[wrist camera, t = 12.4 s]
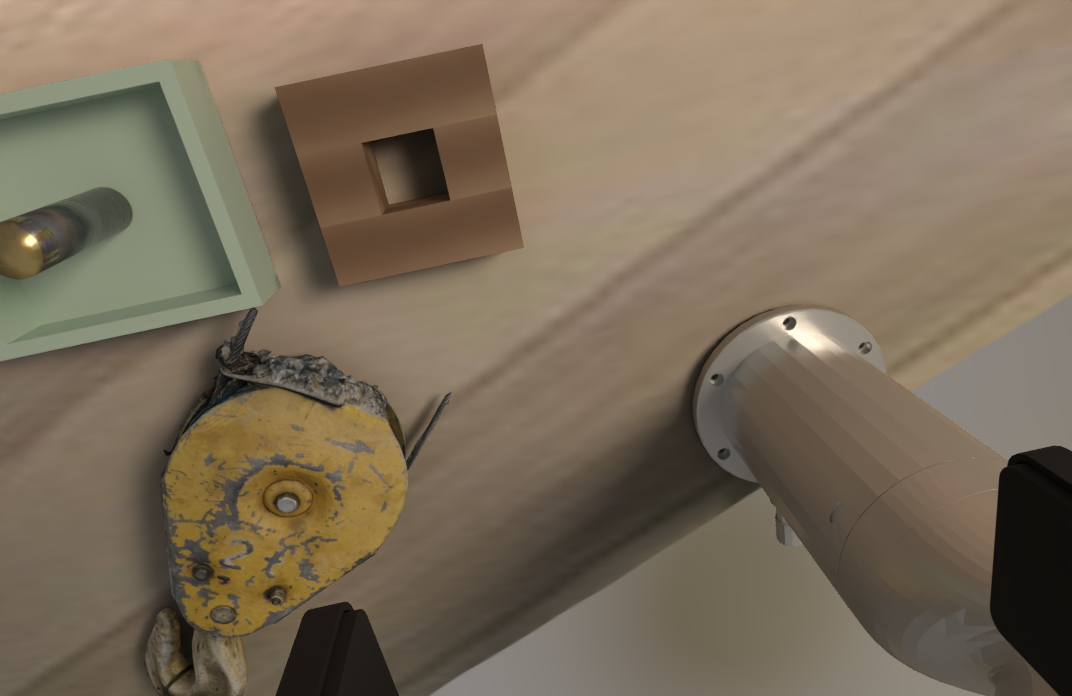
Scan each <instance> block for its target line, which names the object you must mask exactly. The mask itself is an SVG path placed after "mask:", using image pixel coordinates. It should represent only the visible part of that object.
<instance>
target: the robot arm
mask: <svg viewBox="0 0 1072 696" xmlns="http://www.w3.org/2000/svg"><path fill="white" fill-rule="evenodd" d="M785 319H786V320H785ZM784 320H785V321H784ZM783 321H784V322H783ZM715 374H716V375H715ZM713 375H715V376H714V377H712V376H713ZM693 419H694V423H695V428H696V432H697V434H698V436H699V438H700V440H701V442H702V444H703V446H704V447H705V449H706V450H707V452H708V453H709V455H710V456H711V458H712V459H713V460H714V461H715V462H716V463H717V464H718V465H719V466H720V467H721V468H723V469H724V470H726V471H727V472H729V473H731V474H732V475H734V476H736V477H738V478H741V479H744V480H746V481H749V482H754V483H759V484H760V485H761V487H762V488H763V489H764V491H765V492H766V494H767V495H768V496H769V498H770V501H771V503H772V504H773V505H774V506H776V510H777V511H776V512H777V513H776V517H775V519H776V536H777V539H778V541H779V542H780V543H782V544H783V545H785V546H790V547H797V546H801V545H804V547H805V548H806V549H807V551H808V552H809V553H810V555H811V556H812V557H813V559H814V560H815V562H816V563H817V565H818V566H819V567H820V569H821V570H822V571H823V573H824V574H825V576H826V577H827V579H828V580H829V581H830V583H831V584H832V585H833V587H834V588H835V589H836V591H837V592H838V594H839V595H840V597H841V598H842V599H843V601H844V602H845V603H846V605H847V606H848V608H849V609H850V610H851V611H852V613H853V614H854V616H855V617H856V618H857V620H858V621H859V622H860V624H861V625H862V626H863V627H864V629H865V630H866V631H867V633H868V634H869V635H870V636H871V637H872V638H873V639H874V640H875V642H876V643H878V644H879V645H880V646H881V647H882V648H883V649H884V650H885V651H886V652H888V653H889V654H890V655H891V656H893V657H894V658H896V659H897V660H899V661H900V662H902V663H903V664H905V665H906V666H908V667H910V668H912V669H913V670H915V671H917V672H919V673H922V674H924V675H926V676H928V677H930V678H932V679H935V680H937V681H940V682H943V683H946V684H949V685H952V686H955V687H958V688H961V689H964V690H967V691H971V692H975V693H978V694H982V695H986V696H1072V451H1070V450H1068V449H1066V448H1064V447H1061V446H1050V447H1046V448H1041V449H1037V450H1032V451H1027V452H1023V453H1018V454H1016V455H1013V456H1012V457H1011V458H1010V459H1009V460H1007V459H1006V458H1004V457H1003V456H1001V455H1000V454H999V453H997V452H996V451H994V450H993V449H991V448H990V447H988V446H987V445H985V444H984V443H983V442H981V441H980V440H979V439H977V438H976V437H974V436H972V434H970V433H969V432H967V431H966V430H964V429H963V428H962V427H960V426H959V425H957V424H956V423H954V422H953V421H952V420H950V419H949V418H947V417H946V416H944V415H943V414H942V413H940V412H939V411H937V410H936V409H934V408H933V407H932V406H930V405H929V404H927V403H926V402H924V401H923V400H922V399H920V398H919V397H917V396H916V395H915V394H913V393H912V392H910V391H909V390H907V389H906V388H905V387H903V386H902V385H900V384H899V383H897V382H896V381H895V380H893V379H892V378H890V377H889V376H887V373H886V364H885V361H884V358H883V355H882V351H881V349H880V347H879V346H878V344H877V342H876V341H875V339H874V338H873V336H872V335H871V334H870V333H869V332H868V331H867V330H866V329H865V328H864V327H863V326H862V325H861V324H859V323H858V322H856V321H855V320H853V319H851V318H850V317H848V316H847V315H844V314H842V313H840V312H838V311H836V310H834V309H830V308H826V307H821V306H817V305H793V306H787V307H781V308H776V309H773V310H771V311H768V312H765V313H762V314H759V315H757V316H756V317H754V318H752V319H750V320H748V321H747V322H745V323H743V324H741V325H740V326H739V327H738V328H736V329H735V330H734V331H733V332H731V333H730V334H729V335H728V336H726V337H725V338H724V340H723V341H722V342H721V343H720V344H719V345H718V346H717V347H716V348H715V349H714V351H713V352H712V354H711V355H710V357H709V358H708V360H707V361H706V363H705V364H704V366H703V368H702V371H701V373H700V375H699V378H698V380H697V383H696V387H695V392H694V397H693ZM276 696H399V695H398V692H397V690H396V687H395V685H394V682H393V680H392V677H391V674H390V672H389V669H388V667H387V664H386V662H385V659H384V657H383V654H382V652H381V649H380V647H379V644H378V642H377V639H376V637H375V634H374V632H373V629H372V627H371V624H370V622H369V619H368V617H367V615H366V613H365V611H364V610H363V609H359V610H353V608H352V606H351V605H350V604H349V603H348V602H342V603H337V604H333V605H328V606H324V607H319V608H315V609H310V610H308V611H307V612H305V614H304V616H303V618H302V621H301V624H300V627H299V629H298V632H297V635H296V638H295V641H294V644H293V647H292V650H291V653H290V656H289V658H288V661H287V664H286V667H285V670H284V673H283V676H282V679H281V682H280V685H279V687H278V690H277V693H276Z"/></svg>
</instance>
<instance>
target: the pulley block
mask: <svg viewBox="0 0 1072 696" xmlns="http://www.w3.org/2000/svg"><path fill="white" fill-rule="evenodd" d="M257 313H258V311H257V310H256V309H255V308H254V307H253V308H251V309H250V311H249V312H248V314H247V316H246V318H245V319H244V320H242V321H241V322H240V323H239V328H238V332H237V334H236V336H235V337H231V342H229V341H227V340H225V341H224V344H223V345H221V346H220V347H219V348H218V349H216V350H217V352H216V359H217V360H218V361H219V362H220V363H221V364H222V366H221V367H219V372H220V375H219V376H218V375H217V377H214V379H215V382H214V384H213V387H212V389H211V390H209V391H208V392H207V391H206V392H204V393H203V395H202V397H201V398H200V399H199V400H198V403H199V404H198V405H197V406H196V407H195V408H194V409H191V415H190V416H189V417H188V418H187V420H186V422H185V424H184V426H181V425H180V426H181V429H180V433H179V435H178V437H177V439H176V441H175V444H174V447H173V449H172V452H168V451H165V450H164V452H165V454H166V456H170V458H169V461H168V464H167V466H166V467H165V469H164V470H163V471H162V473H161V476H162V482H161V499H162V507H163V516H164V524H165V540H166V549H167V558H168V568H169V578H170V587H171V594H172V596H173V597H174V599H175V600H176V602H177V605H178V607H179V610H180V612H181V614H182V616H183V617H184V619H185V620H186V621H187V623H188V624H189V625H190V626H192V627H193V628H194V633H193V639H192V657H193V664H194V666H193V665H191V664H190V663H189V662H188V661H187V659H186V657H185V655H184V653H183V651H182V646H181V639H180V622H179V619H178V617H177V612H176V611H175V610H173V609H171V608H164V609H162V610H161V611H160V612H159V613H158V614H157V616H156V620H155V623H154V626H153V629H152V632H151V635H150V637H149V640H148V644H147V647H146V650H145V667H146V671H147V675H148V677H149V678H150V680H151V682H152V684H153V686H154V688H155V689H156V691H157V692H158V693H159V695H160V696H242V695H243V692H244V689H245V687H246V680H247V671H246V659H245V655H244V650H243V646H242V642H241V638H240V637H241V636H246V635H248V634H251V633H253V632H255V631H257V630H259V629H262V628H264V627H266V626H268V625H271V624H274V623H277V622H278V621H280V620H281V619H282V618H284V617H285V616H287V615H288V614H289V613H291V612H292V611H294V610H295V609H297V608H298V607H299V606H301V605H302V604H304V603H305V602H306V601H308V600H309V599H311V598H312V597H313V596H315V595H316V594H318V593H319V592H321V591H322V590H324V589H325V588H326V587H328V586H329V585H331V584H332V583H334V582H335V581H337V580H338V579H340V578H341V577H342V576H344V575H345V574H347V573H348V572H350V571H351V570H353V569H354V568H356V567H357V566H359V565H360V564H361V563H363V562H364V561H366V560H367V559H369V558H370V557H372V556H373V555H375V554H376V552H377V551H378V549H379V547H380V546H381V544H382V543H383V541H384V540H385V538H386V537H387V536H388V534H389V533H390V531H391V530H392V528H393V527H394V525H395V524H396V522H397V521H398V519H399V516H400V514H401V512H402V510H403V507H404V502H405V498H406V493H407V488H408V472H407V471H408V470H409V468H410V466H411V465H412V463H413V461H414V460H415V458H416V456H417V455H418V453H419V451H420V449H421V447H422V445H423V444H424V442H425V441H426V439H427V437H428V436H429V434H430V433H431V431H432V430H433V428H434V426H435V424H436V423H437V421H438V419H439V417H440V415H441V413H442V412H443V410H444V408H445V407H446V405H447V404H448V403H449V400H450V396H451V392H450V393H449V394H447V395H446V396H445V398H444V399H443V401H442V402H441V404H440V405H439V407H438V409H437V411H436V413H435V415H434V417H433V418H432V420H431V422H430V424H429V426H428V427H427V429H426V430H425V432H424V433H423V435H422V436H421V437H420V438H419V439H418V441H417V443H416V445H415V446H414V449H413V451H412V453H411V455H410V456H409V458H408V459H407V454H406V442H405V436H404V433H403V429H402V426H401V424H400V421H399V419H398V417H397V415H396V413H395V411H394V409H393V408H392V407H391V405H390V404H389V403H388V402H387V399H386V397H385V396H384V395H383V393H381V392H380V391H379V390H378V389H377V387H378V386H377V385H374V386H369V385H368V384H367V383H366V382H365V381H355V380H354V379H353V377H352V375H349V376H347V377H346V376H345V375H344V374H343V372H341V371H340V370H338V369H337V368H336V367H335V366H334V364H332V363H331V362H330V361H328V360H327V359H326V358H324V357H323V356H322V357H314V356H312V355H308V354H306V355H302V356H298V357H289V356H281V355H270V354H271V352H272V351H268V350H261V351H259V352H254V351H252V353H249V352H244V344H245V341H246V339H247V336H248V334H249V331H250V329H251V326H252V324H253V322H254V320H255V317H256V315H257ZM240 363H244V364H245V366H240V367H236V366H238V364H240ZM237 371H240V372H237ZM376 389H377V391H376Z"/></svg>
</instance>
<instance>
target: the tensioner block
mask: <svg viewBox="0 0 1072 696" xmlns="http://www.w3.org/2000/svg"><path fill="white" fill-rule="evenodd" d="M275 90H276V93H277V96H278V99H279V102H280V105H281V108H282V111H283V115H284V118H285V121H286V124H287V127H288V130H289V133H290V136H291V139H292V142H293V145H294V148H295V151H296V155H297V158H298V161H299V164H300V167H301V170H302V173H303V176H304V179H305V182H306V185H307V188H308V191H309V195H310V198H311V201H312V204H313V207H314V210H315V213H316V216H317V219H318V222H319V225H320V228H321V231H322V235H323V238H324V241H325V244H326V247H327V250H328V253H329V256H330V259H331V262H332V265H333V268H334V271H335V275H336V278H337V281H338V284H339V287H341V286H346V285H350V284H355V283H360V282H364V281H369V280H374V279H379V278H383V277H388V276H393V275H397V274H402V273H407V272H411V271H416V270H421V269H426V268H430V267H435V266H440V265H444V264H449V263H454V262H458V261H463V260H468V259H473V258H477V257H482V256H487V255H491V254H496V253H501V252H505V251H510V250H515V249H520V248H524V246H523V241H522V236H521V231H520V226H519V221H518V216H517V211H516V207H515V202H514V197H513V192H512V187H511V182H510V177H509V172H508V167H507V162H506V158H505V153H504V148H503V143H502V138H501V133H500V128H499V123H498V118H497V114H496V109H495V104H494V99H493V94H492V89H491V84H490V79H489V74H488V69H487V65H486V60H485V55H484V50H483V45H482V44H480V45H475V46H471V47H466V48H461V49H456V50H452V51H447V52H442V53H437V54H432V55H428V56H423V57H418V58H413V59H408V60H404V61H399V62H394V63H389V64H385V65H380V66H375V67H370V68H365V69H361V70H356V71H351V72H346V73H341V74H337V75H332V76H327V77H322V78H318V79H313V80H308V81H303V82H298V83H294V84H289V85H284V86H279V87H275ZM430 128H433V130H434V134H435V138H436V142H437V147H438V151H439V155H440V159H441V163H442V167H443V171H444V175H445V180H446V184H447V188H448V193H443V194H438V195H434V196H429V197H424V198H419V199H415V200H410V201H405V202H400V203H396V204H391V205H388V201H387V197H386V194H385V190H384V187H383V183H382V180H381V176H380V172H379V169H378V165H377V162H376V158H375V155H374V151H373V147H372V144H371V141H373V140H378V139H383V138H387V137H392V136H397V135H402V134H406V133H411V132H416V131H421V130H425V129H430Z"/></svg>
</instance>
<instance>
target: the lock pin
mask: <svg viewBox="0 0 1072 696" xmlns="http://www.w3.org/2000/svg"><path fill="white" fill-rule="evenodd" d="M132 218H133V212H132V208H131V205H130V203H129V202H128V200H127V199H126V198H125V197H124V196H123V195H122V194H121V193H120V192H118V191H116V190H114V189H112V188H108V187H97V188H94V189H91V190H88V191H85V192H83V193H80V194H77V195H74V196H71V197H69V198H66V199H63V200H60V201H58V202H55V203H52V204H49V205H46V206H44V207H41V208H38V209H35V210H33V211H30V212H27V213H24V214H21V215H19V216H16V217H13V218H10V219H7V220H5V221H2V222H0V275H2V276H4V277H7V278H10V279H16V280H23V279H28V278H31V277H33V276H35V275H37V274H39V273H41V272H43V271H45V270H47V269H49V268H50V267H52V266H54V265H56V264H58V263H60V262H62V261H64V260H66V259H68V258H70V257H72V256H74V255H76V254H78V253H80V252H82V251H84V250H86V249H88V248H90V247H92V246H94V245H96V244H97V243H99V242H101V241H103V240H105V239H107V238H109V237H111V236H113V235H115V234H117V233H119V232H121V231H123V230H125V229H126V228H127V227H128V226H129V225H130V224H131V221H132Z"/></svg>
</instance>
